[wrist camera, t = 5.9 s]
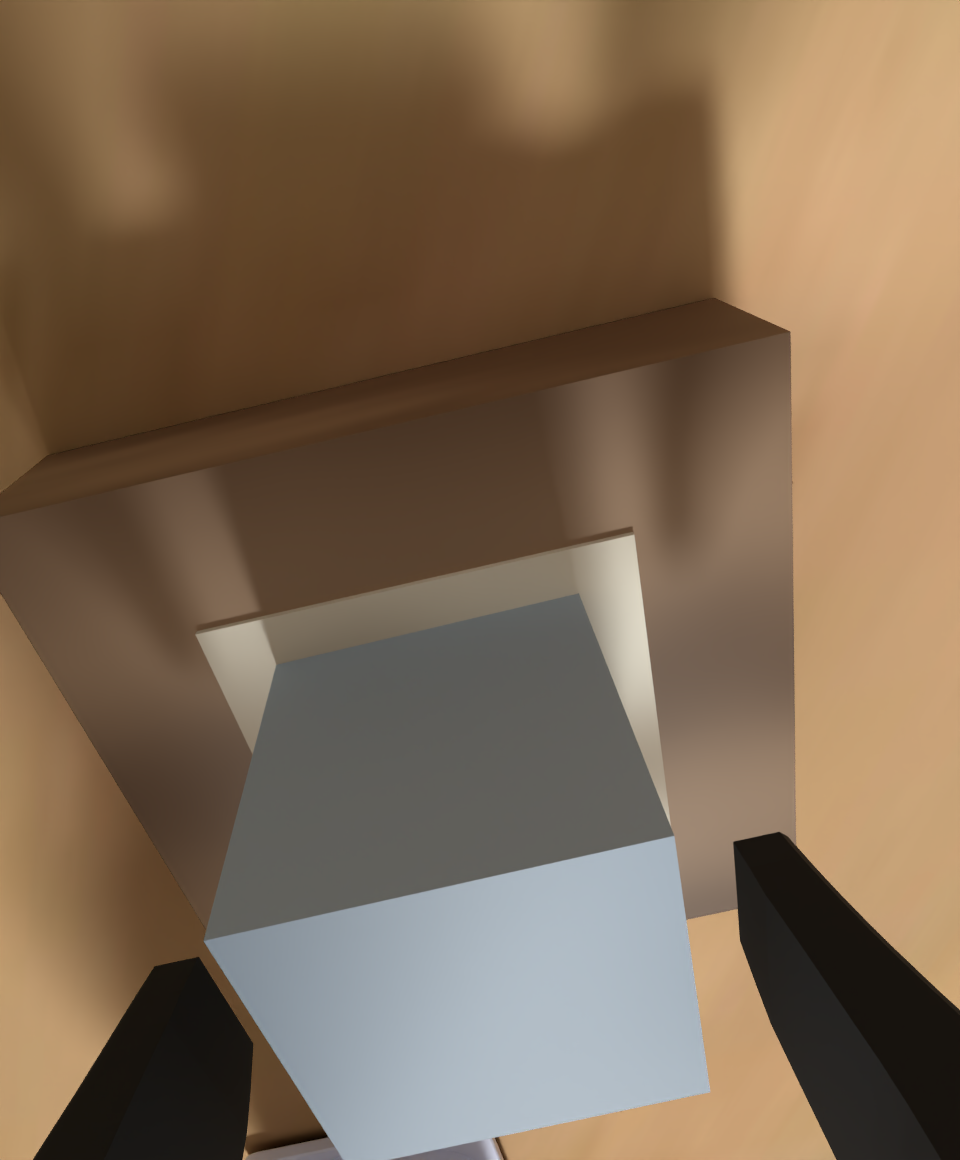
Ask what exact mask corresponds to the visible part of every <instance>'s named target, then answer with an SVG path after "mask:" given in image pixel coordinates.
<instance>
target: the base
mask: <svg viewBox="0 0 960 1160" xmlns="http://www.w3.org/2000/svg"><path fill="white" fill-rule="evenodd" d="M0 593H1V594H2V596H3V598H4V599H5V601H6V603H7V604H8V606H9V608H10V609H11V611H12V613H13V614H14V616H15V617H16V619H17V621H18V622H19V624H20V626H21V627H22V629H23V631H24V632H25V634H26V635H27V637H28V639H29V640H30V642H31V644H32V645H33V647H34V649H35V650H36V652H37V654H38V655H39V657H40V658H41V660H42V662H43V663H44V665H45V667H46V668H47V670H48V672H49V673H50V675H51V676H52V678H53V680H54V681H55V683H56V685H57V686H58V688H59V690H60V691H61V693H62V695H63V696H64V698H65V699H66V701H67V703H68V704H69V706H70V708H71V709H72V711H73V713H74V714H75V716H76V718H77V719H78V721H79V722H80V724H81V726H82V727H83V729H84V731H85V732H86V734H87V736H88V737H89V739H90V740H91V742H92V744H93V745H94V747H95V749H96V750H97V752H98V754H99V755H100V757H101V759H102V760H103V762H104V763H105V765H106V767H107V768H108V770H109V772H110V773H111V775H112V777H113V778H114V780H115V782H116V783H117V785H118V786H119V788H120V790H121V791H122V793H123V795H124V796H125V798H126V800H127V801H128V803H129V804H130V806H131V808H132V809H133V811H134V813H135V814H136V816H137V818H138V819H139V821H140V823H141V824H142V826H143V827H144V829H145V831H146V832H147V834H148V836H149V837H150V839H151V841H152V842H153V844H154V845H155V847H156V849H157V850H158V852H159V854H160V855H161V857H162V859H163V860H164V862H165V864H166V865H167V867H168V868H169V870H170V872H171V873H172V875H173V877H174V878H175V880H176V882H177V883H178V885H179V887H180V888H181V890H182V891H183V893H184V895H185V896H186V898H187V900H188V901H189V903H190V905H191V906H192V908H193V909H194V911H195V913H196V914H197V916H198V918H199V919H200V921H201V923H202V924H203V926H204V928H205V929H207V926H208V922H209V918H210V914H211V910H212V907H213V903H214V899H215V895H216V891H217V888H218V884H219V880H220V876H221V872H222V869H223V865H224V861H225V857H226V854H227V850H228V846H229V842H230V838H231V835H232V831H233V827H234V823H235V819H236V816H237V812H238V808H239V804H240V800H241V797H242V793H243V789H244V785H245V782H246V778H247V774H248V770H249V766H250V763H251V759H252V755H253V751H254V747H255V744H256V740H257V736H258V732H259V728H260V725H261V721H262V717H263V713H264V709H265V706H266V702H267V698H268V694H269V691H270V687H271V683H272V679H273V675H274V672H275V668H276V665H277V664H282V663H286V662H290V661H294V660H298V659H303V658H307V657H311V656H315V655H320V654H324V653H328V652H332V651H337V650H341V649H345V648H349V647H354V646H358V645H362V644H366V643H371V642H375V641H379V640H383V639H387V638H392V637H396V636H400V635H404V634H409V633H413V632H417V631H421V630H426V629H430V628H434V627H438V626H443V625H447V624H451V623H455V622H460V621H464V620H468V619H472V618H476V617H481V616H485V615H489V614H493V613H498V612H502V611H506V610H510V609H515V608H519V607H523V606H527V605H532V604H536V603H540V602H544V601H548V600H553V599H557V598H561V597H565V596H570V595H574V594H578V593H579V595H580V598H581V600H582V603H583V605H584V608H585V610H586V613H587V616H588V618H589V621H590V623H591V626H592V628H593V631H594V633H595V636H596V638H597V641H598V643H599V646H600V648H601V651H602V654H603V656H604V659H605V661H606V664H607V666H608V669H609V671H610V674H611V676H612V679H613V681H614V684H615V687H616V689H617V692H618V694H619V697H620V699H621V702H622V704H623V707H624V709H625V712H626V714H627V717H628V719H629V722H630V725H631V727H632V730H633V732H634V735H635V737H636V740H637V742H638V745H639V747H640V750H641V752H642V755H643V758H644V760H645V763H646V765H647V768H648V770H649V773H650V775H651V778H652V780H653V783H654V785H655V788H656V790H657V793H658V796H659V798H660V801H661V803H662V806H663V808H664V811H665V813H666V816H667V818H668V821H669V823H670V826H671V828H672V831H673V834H674V837H675V844H676V851H677V858H678V865H679V872H680V879H681V887H682V894H683V901H684V908H685V915H686V920H687V919H692V918H696V917H701V916H706V915H711V914H715V913H720V912H725V911H730V910H734V909H738V904H737V890H736V876H735V862H734V848H733V842H734V841H739V840H743V839H748V838H752V837H757V836H762V835H766V834H771V833H776V832H781V833H783V834H784V835H786V836H788V837H789V838H790V839H791V841H792V842H793V843H794V844H795V845H796V799H795V708H794V616H793V525H792V433H791V342H790V331H788V330H785V329H783V328H781V327H779V326H776V325H774V324H772V323H770V322H767V321H765V320H763V319H761V318H758V317H756V316H754V315H752V314H749V313H747V312H745V311H743V310H740V309H738V308H736V307H734V306H731V305H729V304H727V303H725V302H722V301H720V300H718V299H715V298H712V299H708V300H703V301H699V302H695V303H691V304H686V305H682V306H678V307H674V308H670V309H665V310H661V311H657V312H653V313H648V314H644V315H640V316H636V317H632V318H627V319H623V320H619V321H615V322H610V323H606V324H602V325H598V326H593V327H589V328H585V329H581V330H577V331H572V332H568V333H564V334H560V335H555V336H551V337H547V338H543V339H539V340H534V341H530V342H526V343H522V344H517V345H513V346H509V347H505V348H500V349H496V350H492V351H488V352H484V353H479V354H475V355H471V356H467V357H462V358H458V359H454V360H450V361H446V362H441V363H437V364H433V365H429V366H424V367H420V368H416V369H412V370H407V371H403V372H399V373H395V374H391V375H386V376H382V377H378V378H374V379H369V380H365V381H361V382H357V383H353V384H348V385H344V386H340V387H336V388H331V389H327V390H323V391H319V392H314V393H310V394H306V395H302V396H298V397H293V398H289V399H285V400H281V401H276V402H272V403H268V404H264V405H260V406H255V407H251V408H247V409H243V410H238V411H234V412H230V413H226V414H221V415H217V416H213V417H209V418H205V419H200V420H196V421H192V422H188V423H183V424H179V425H175V426H171V427H167V428H162V429H158V430H154V431H150V432H145V433H141V434H137V435H133V436H128V437H124V438H120V439H116V440H112V441H107V442H103V443H99V444H95V445H90V446H86V447H82V448H78V449H74V450H69V451H65V452H61V453H57V454H52V455H48V456H46V457H45V458H44V459H43V460H41V461H40V462H39V463H38V464H36V465H35V466H34V467H33V468H31V469H30V470H29V471H28V472H27V473H25V474H24V475H23V476H22V477H20V478H19V479H18V480H17V481H15V482H14V483H13V484H12V485H11V486H9V487H8V488H7V489H6V490H4V491H3V492H2V493H1V494H0Z"/></svg>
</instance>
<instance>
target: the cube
mask: <svg viewBox="0 0 960 1160" xmlns="http://www.w3.org/2000/svg"><path fill="white" fill-rule="evenodd" d="M204 943H205V944H206V946H207V947H208V949H209V951H210V952H211V954H212V955H213V957H214V958H215V960H216V961H217V963H218V965H219V966H220V968H221V969H222V971H223V972H224V974H225V976H226V977H227V979H228V980H229V982H230V983H231V985H232V987H233V988H234V990H235V991H236V993H237V994H238V996H239V997H240V999H241V1001H242V1002H243V1004H244V1005H245V1007H246V1008H247V1010H248V1012H249V1013H250V1015H251V1016H252V1018H253V1019H254V1021H255V1023H256V1024H257V1026H258V1027H259V1029H260V1030H261V1032H262V1033H263V1035H264V1037H265V1038H266V1040H267V1041H268V1043H269V1044H270V1046H271V1048H272V1049H273V1051H274V1052H275V1054H276V1055H277V1057H278V1059H279V1060H280V1062H281V1063H282V1065H283V1066H284V1068H285V1069H286V1071H287V1073H288V1074H289V1076H290V1077H291V1079H292V1080H293V1082H294V1084H295V1085H296V1087H297V1088H298V1090H299V1091H300V1093H301V1094H302V1096H303V1098H304V1099H305V1101H306V1102H307V1104H308V1105H309V1107H310V1109H311V1110H312V1112H313V1113H314V1115H315V1116H316V1118H317V1120H318V1121H319V1123H320V1124H321V1126H322V1127H323V1129H324V1130H325V1132H326V1134H327V1135H328V1137H329V1138H330V1140H331V1141H332V1143H333V1145H334V1146H335V1148H336V1149H337V1151H338V1152H339V1154H340V1156H341V1157H342V1159H343V1160H390V1159H395V1158H400V1157H405V1156H409V1155H414V1154H419V1153H424V1152H428V1151H433V1150H438V1149H443V1148H447V1147H452V1146H457V1145H462V1144H466V1143H471V1142H476V1141H481V1140H485V1139H490V1138H495V1137H500V1136H504V1135H509V1134H514V1133H519V1132H523V1131H528V1130H533V1129H538V1128H542V1127H547V1126H552V1125H556V1124H561V1123H566V1122H571V1121H575V1120H580V1119H585V1118H590V1117H594V1116H599V1115H604V1114H609V1113H613V1112H618V1111H623V1110H628V1109H632V1108H637V1107H642V1106H647V1105H651V1104H656V1103H661V1102H666V1101H670V1100H675V1099H680V1098H685V1097H689V1096H694V1095H699V1094H704V1093H708V1092H710V1087H709V1080H708V1072H707V1065H706V1058H705V1051H704V1044H703V1037H702V1029H701V1022H700V1015H699V1008H698V1001H697V994H696V987H695V979H694V972H693V965H692V958H691V951H690V944H689V937H688V929H687V922H686V915H685V908H684V901H683V894H682V887H681V879H680V872H679V865H678V858H677V851H676V844H675V837H674V834H673V831H672V828H671V826H670V823H669V821H668V818H667V816H666V813H665V811H664V808H663V806H662V803H661V801H660V798H659V796H658V793H657V790H656V788H655V785H654V783H653V780H652V778H651V775H650V773H649V770H648V768H647V765H646V763H645V760H644V758H643V755H642V752H641V750H640V747H639V745H638V742H637V740H636V737H635V735H634V732H633V730H632V727H631V725H630V722H629V719H628V717H627V714H626V712H625V709H624V707H623V704H622V702H621V699H620V697H619V694H618V692H617V689H616V687H615V684H614V681H613V679H612V676H611V674H610V671H609V669H608V666H607V664H606V661H605V659H604V656H603V654H602V651H601V648H600V646H599V643H598V641H597V638H596V636H595V633H594V631H593V628H592V626H591V623H590V621H589V618H588V616H587V613H586V610H585V608H584V605H583V603H582V600H581V598H580V595H579V593H578V594H574V595H570V596H565V597H561V598H557V599H553V600H548V601H544V602H540V603H536V604H532V605H527V606H523V607H519V608H515V609H510V610H506V611H502V612H498V613H493V614H489V615H485V616H481V617H476V618H472V619H468V620H464V621H460V622H455V623H451V624H447V625H443V626H438V627H434V628H430V629H426V630H421V631H417V632H413V633H409V634H404V635H400V636H396V637H392V638H387V639H383V640H379V641H375V642H371V643H366V644H362V645H358V646H354V647H349V648H345V649H341V650H337V651H332V652H328V653H324V654H320V655H315V656H311V657H307V658H303V659H298V660H294V661H290V662H286V663H282V664H277V665H276V668H275V672H274V675H273V679H272V683H271V687H270V691H269V694H268V698H267V702H266V706H265V709H264V713H263V717H262V721H261V725H260V728H259V732H258V736H257V740H256V744H255V747H254V751H253V755H252V759H251V763H250V766H249V770H248V774H247V778H246V782H245V785H244V789H243V793H242V797H241V800H240V804H239V808H238V812H237V816H236V819H235V823H234V827H233V831H232V835H231V838H230V842H229V846H228V850H227V854H226V857H225V861H224V865H223V869H222V872H221V876H220V880H219V884H218V888H217V891H216V895H215V899H214V903H213V907H212V910H211V914H210V918H209V922H208V926H207V929H206V933H205V937H204Z"/></svg>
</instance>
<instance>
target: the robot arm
mask: <svg viewBox="0 0 960 1160" xmlns="http://www.w3.org/2000/svg"><path fill="white" fill-rule="evenodd" d="M733 848H734V862H735V876H736V890H737V904H738V918H739V932H740V942H741V944H742V947H743V950H744V953H745V955H746V958H747V961H748V964H749V966H750V969H751V972H752V974H753V977H754V980H755V983H756V985H757V988H758V991H759V993H760V996H761V999H762V1001H763V1004H764V1007H765V1009H766V1012H767V1014H768V1017H769V1020H770V1022H771V1025H772V1027H773V1029H774V1031H775V1033H776V1035H777V1037H778V1039H779V1041H780V1044H781V1046H782V1048H783V1050H784V1052H785V1054H786V1056H787V1058H788V1060H789V1062H790V1064H791V1066H792V1069H793V1071H794V1073H795V1075H796V1077H797V1079H798V1081H799V1083H800V1085H801V1087H802V1089H803V1091H804V1094H805V1096H806V1098H807V1100H808V1102H809V1104H810V1106H811V1108H812V1110H813V1112H814V1114H815V1116H816V1118H817V1120H818V1122H819V1125H820V1127H821V1129H822V1131H823V1133H824V1135H825V1137H826V1139H827V1141H828V1143H829V1145H830V1147H831V1149H832V1151H833V1153H834V1155H835V1158H836V1160H960V1010H959V1009H958V1008H957V1007H956V1006H955V1005H954V1004H953V1003H951V1002H950V1001H949V1000H948V999H947V998H946V997H945V996H944V995H943V994H942V993H940V992H939V991H938V990H937V989H936V988H935V987H934V986H933V985H932V984H931V983H930V982H929V981H928V980H927V979H926V978H925V977H924V976H923V975H922V974H920V973H919V972H918V971H917V970H916V969H915V968H914V967H913V966H912V965H911V964H910V963H909V962H908V961H907V960H906V959H905V958H904V957H903V956H901V955H900V954H899V953H898V952H897V951H896V950H895V949H894V948H893V947H892V946H891V945H890V944H889V943H888V942H887V941H886V940H885V939H884V938H883V937H882V936H881V935H880V934H879V933H878V932H877V931H876V930H875V929H874V928H873V927H872V926H871V925H870V924H869V923H868V922H867V921H866V920H865V919H864V918H863V917H862V916H861V915H860V914H859V913H858V912H857V911H856V910H855V909H854V908H853V907H852V906H851V905H850V904H849V903H848V902H847V901H846V900H845V899H844V898H843V897H842V896H841V894H840V893H839V892H838V891H837V890H836V889H835V888H834V887H833V886H832V885H831V884H830V883H829V882H828V881H827V880H826V879H825V877H824V876H823V875H822V874H821V873H820V872H819V871H818V870H817V869H816V868H815V867H814V865H813V864H812V863H811V862H810V861H809V860H808V859H807V858H806V857H805V855H804V854H803V853H802V852H801V851H800V850H799V849H798V848H797V846H796V845H795V844H794V843H793V842H792V841H791V839H790V838H789V837H788V836H786V835H784V834H783V833H781V832H776V833H771V834H766V835H762V836H757V837H752V838H748V839H743V840H739V841H734V842H733ZM252 1056H253V1043H252V1041H251V1039H250V1038H249V1036H248V1035H247V1033H246V1031H245V1030H244V1028H243V1027H242V1025H241V1023H240V1022H239V1020H238V1019H237V1017H236V1015H235V1014H234V1012H233V1011H232V1009H231V1008H230V1006H229V1004H228V1003H227V1001H226V1000H225V998H224V996H223V995H222V993H221V992H220V990H219V988H218V987H217V985H216V984H215V982H214V980H213V979H212V977H211V976H210V974H209V973H208V971H207V969H206V968H205V966H204V965H203V963H202V961H201V960H200V958H199V957H196V958H192V959H187V960H182V961H178V962H173V963H168V964H164V965H159V966H155V967H154V968H153V970H152V971H151V973H150V974H149V976H148V978H147V979H146V981H145V982H144V984H143V985H142V987H141V989H140V990H139V992H138V993H137V995H136V996H135V998H134V1000H133V1001H132V1003H131V1005H130V1006H129V1008H128V1009H127V1011H126V1013H125V1014H124V1016H123V1017H122V1019H121V1021H120V1022H119V1024H118V1025H117V1027H116V1029H115V1030H114V1032H113V1034H112V1035H111V1037H110V1038H109V1040H108V1042H107V1043H106V1045H105V1047H104V1048H103V1050H102V1051H101V1053H100V1055H99V1056H98V1058H97V1059H96V1061H95V1063H94V1064H93V1066H92V1067H91V1069H90V1071H89V1072H88V1074H87V1076H86V1077H85V1079H84V1080H83V1082H82V1084H81V1085H80V1087H79V1088H78V1090H77V1092H76V1093H75V1095H74V1096H73V1098H72V1099H71V1101H70V1103H69V1104H68V1106H67V1107H66V1109H65V1110H64V1112H63V1113H62V1115H61V1117H60V1118H59V1120H58V1121H57V1123H56V1124H55V1126H54V1127H53V1129H52V1131H51V1132H50V1134H49V1135H48V1137H47V1138H46V1140H45V1142H44V1143H43V1145H42V1146H41V1148H40V1149H39V1151H38V1152H37V1154H36V1156H35V1157H34V1159H33V1160H242V1158H243V1152H244V1146H245V1140H246V1134H247V1125H248V1113H249V1102H250V1090H251V1073H252ZM245 1160H343V1159H342V1157H341V1156H340V1154H339V1152H338V1151H337V1149H336V1148H335V1146H334V1145H333V1143H332V1141H331V1140H330V1138H329V1137H327V1138H322V1139H317V1140H312V1141H308V1142H303V1143H298V1144H293V1145H288V1146H283V1147H278V1148H274V1149H269V1150H264V1151H259V1152H255V1153H252V1154H250V1155H249V1156H247V1157H246V1159H245ZM390 1160H504V1159H503V1157H502V1154H501V1152H500V1149H499V1147H498V1144H497V1142H496V1139H495V1138H490V1139H485V1140H481V1141H476V1142H471V1143H466V1144H462V1145H457V1146H452V1147H447V1148H443V1149H438V1150H433V1151H428V1152H424V1153H419V1154H414V1155H409V1156H405V1157H400V1158H395V1159H390Z"/></svg>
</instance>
